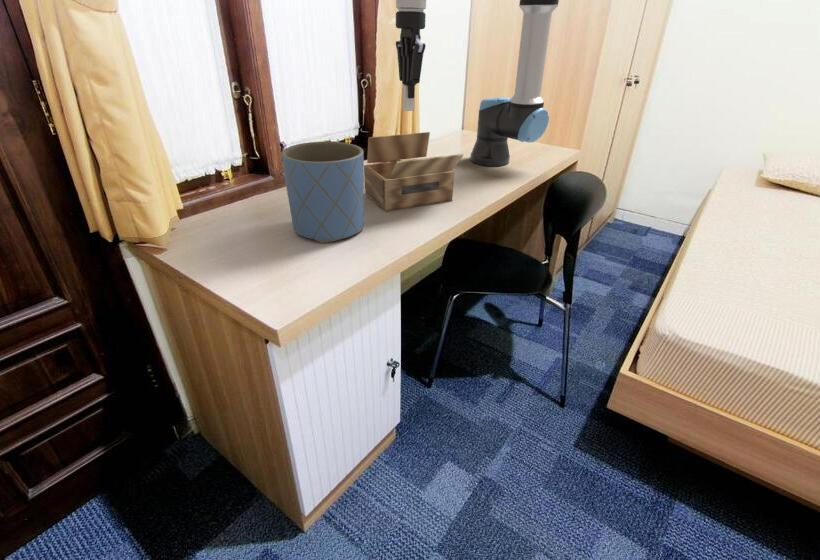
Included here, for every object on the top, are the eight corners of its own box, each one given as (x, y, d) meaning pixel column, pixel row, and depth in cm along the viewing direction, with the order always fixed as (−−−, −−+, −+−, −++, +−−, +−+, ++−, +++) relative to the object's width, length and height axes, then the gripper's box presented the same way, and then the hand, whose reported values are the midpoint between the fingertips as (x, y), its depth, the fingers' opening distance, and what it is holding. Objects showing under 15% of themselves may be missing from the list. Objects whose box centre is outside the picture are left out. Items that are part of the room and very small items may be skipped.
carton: (428, 184, 144) (430, 157, 139) (453, 200, 132) (456, 171, 127) (363, 193, 135) (362, 165, 131) (384, 212, 123) (383, 181, 118)
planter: (381, 230, 112) (380, 152, 102) (319, 252, 101) (310, 167, 90) (337, 209, 124) (332, 137, 114) (277, 227, 112) (265, 149, 102)
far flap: (426, 156, 138) (425, 156, 139) (429, 132, 133) (429, 132, 133) (367, 163, 131) (367, 162, 131) (368, 138, 125) (368, 137, 126)
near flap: (463, 153, 119) (463, 155, 119) (451, 169, 126) (452, 171, 126) (396, 161, 111) (397, 162, 111) (388, 178, 119) (389, 179, 118)
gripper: (386, 10, 112) (386, 107, 124) (408, 10, 102) (406, 115, 114) (412, 11, 115) (410, 105, 127) (436, 11, 105) (431, 113, 117)
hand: (408, 110), depth 121 cm, fingers closed
